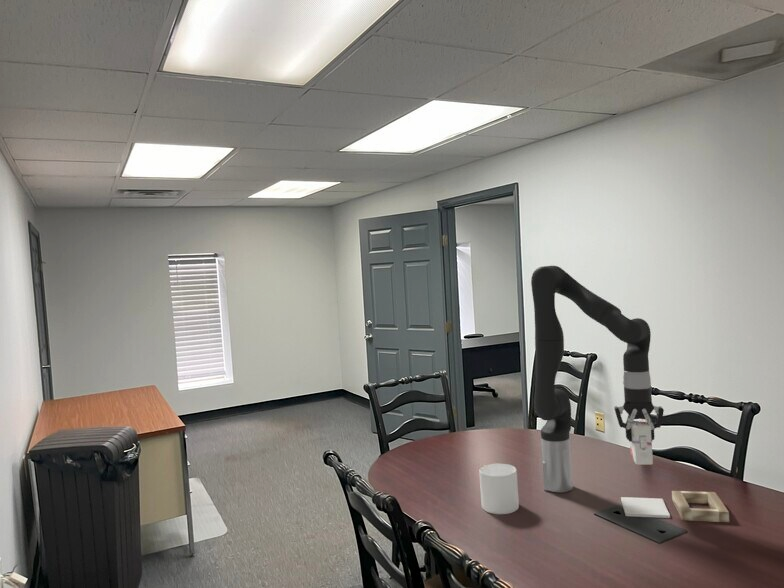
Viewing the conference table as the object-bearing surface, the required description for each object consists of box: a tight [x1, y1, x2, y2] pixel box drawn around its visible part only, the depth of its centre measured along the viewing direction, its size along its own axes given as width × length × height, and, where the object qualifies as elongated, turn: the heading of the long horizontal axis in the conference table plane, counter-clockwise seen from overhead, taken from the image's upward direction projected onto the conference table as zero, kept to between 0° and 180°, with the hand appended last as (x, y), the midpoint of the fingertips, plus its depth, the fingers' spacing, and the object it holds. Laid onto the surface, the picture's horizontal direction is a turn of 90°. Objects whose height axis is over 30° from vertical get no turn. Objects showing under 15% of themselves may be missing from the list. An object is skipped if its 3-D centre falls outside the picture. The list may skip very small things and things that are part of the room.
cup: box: [478, 462, 520, 515], centre depth 180 cm, size 12×12×12 cm
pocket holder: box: [671, 490, 730, 523], centre depth 167 cm, size 12×14×3 cm
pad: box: [620, 496, 671, 519], centre depth 171 cm, size 12×12×1 cm
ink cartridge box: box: [629, 414, 654, 466], centre depth 170 cm, size 9×5×15 cm, turn 168°
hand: (640, 440), depth 171 cm, fingers closed on ink cartridge box, 5 cm apart
